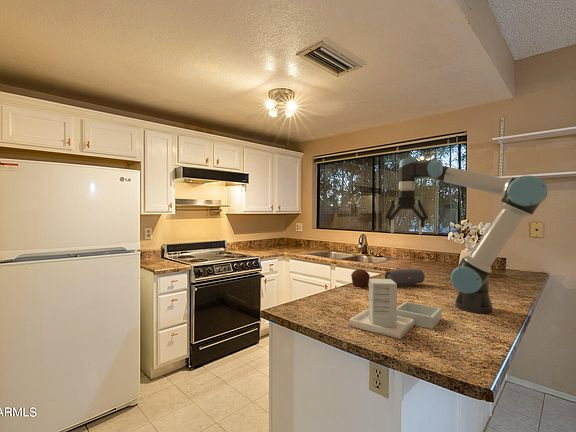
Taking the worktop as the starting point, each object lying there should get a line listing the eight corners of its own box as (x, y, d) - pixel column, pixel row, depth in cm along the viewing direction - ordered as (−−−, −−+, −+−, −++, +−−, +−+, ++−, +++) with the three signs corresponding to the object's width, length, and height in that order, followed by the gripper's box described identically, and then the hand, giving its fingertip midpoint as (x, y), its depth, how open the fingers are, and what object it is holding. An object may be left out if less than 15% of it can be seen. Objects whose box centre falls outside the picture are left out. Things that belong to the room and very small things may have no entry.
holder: (441, 318, 130) (441, 308, 130) (432, 329, 118) (432, 317, 118) (405, 311, 139) (405, 301, 139) (393, 320, 128) (394, 309, 128)
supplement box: (397, 328, 116) (397, 284, 116) (372, 327, 117) (372, 283, 116) (391, 319, 125) (391, 278, 125) (368, 318, 126) (368, 277, 126)
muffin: (370, 289, 179) (370, 272, 179) (350, 288, 181) (351, 271, 181) (369, 284, 191) (369, 268, 190) (351, 283, 193) (351, 267, 193)
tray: (414, 325, 122) (414, 319, 122) (399, 339, 108) (400, 332, 108) (366, 314, 134) (366, 309, 134) (348, 325, 121) (348, 319, 121)
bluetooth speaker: (392, 288, 182) (393, 271, 181) (384, 284, 191) (384, 268, 190) (425, 286, 188) (425, 270, 188) (415, 282, 197) (415, 267, 196)
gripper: (435, 190, 147) (435, 234, 147) (384, 191, 163) (384, 231, 163) (431, 189, 141) (431, 234, 142) (379, 190, 157) (378, 232, 157)
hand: (406, 233), depth 152 cm, fingers open, 13 cm apart
